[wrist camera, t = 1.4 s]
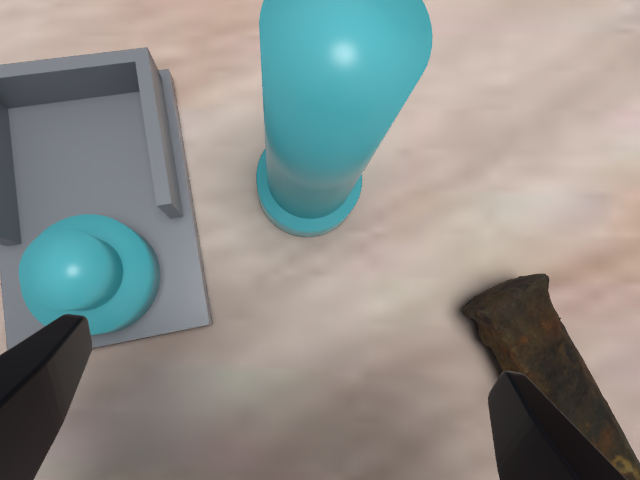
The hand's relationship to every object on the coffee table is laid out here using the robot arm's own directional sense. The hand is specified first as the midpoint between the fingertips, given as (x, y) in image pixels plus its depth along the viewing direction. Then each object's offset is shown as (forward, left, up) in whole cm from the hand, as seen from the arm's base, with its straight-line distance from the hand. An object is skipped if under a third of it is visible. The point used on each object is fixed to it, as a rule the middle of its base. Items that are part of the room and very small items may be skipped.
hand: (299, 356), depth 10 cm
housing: (-2, +11, -12) cm, 16 cm away
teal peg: (+6, +5, -12) cm, 14 cm away
